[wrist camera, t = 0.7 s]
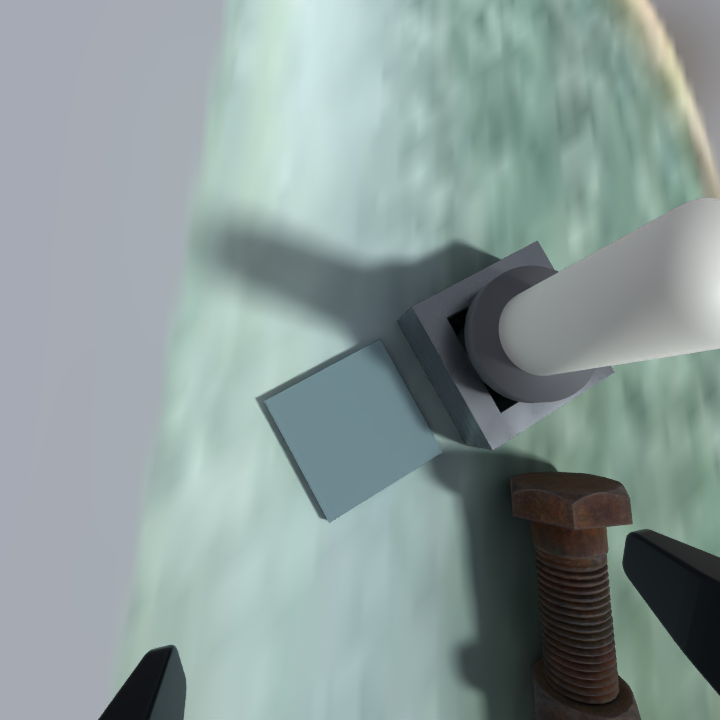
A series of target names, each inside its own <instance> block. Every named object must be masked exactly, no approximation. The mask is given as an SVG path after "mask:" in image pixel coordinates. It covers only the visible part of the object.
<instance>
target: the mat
mask: <svg viewBox="0 0 720 720" xmlns="http://www.w3.org/2000/svg"><path fill="white" fill-rule="evenodd" d="M264 402H265V404H266V406H267V408H268V409H269V411H270V413H271V415H272V417H273V419H274V421H275V423H276V424H277V426H278V428H279V430H280V432H281V434H282V436H283V437H284V439H285V441H286V443H287V445H288V447H289V449H290V451H291V452H292V454H293V456H294V458H295V460H296V462H297V464H298V465H299V467H300V469H301V471H302V473H303V475H304V477H305V478H306V480H307V482H308V484H309V486H310V488H311V490H312V492H313V493H314V495H315V497H316V499H317V501H318V503H319V505H320V506H321V508H322V510H323V512H324V514H325V516H326V518H327V520H328V521H329V523H330V522H332V521H333V520H335V519H336V518H338V517H340V516H341V515H343V514H344V513H346V512H348V511H349V510H351V509H352V508H354V507H356V506H357V505H359V504H360V503H362V502H364V501H365V500H367V499H368V498H370V497H372V496H373V495H375V494H376V493H378V492H380V491H381V490H383V489H384V488H386V487H388V486H389V485H391V484H392V483H394V482H396V481H397V480H399V479H400V478H402V477H404V476H405V475H407V474H408V473H410V472H412V471H413V470H415V469H417V468H418V467H420V466H421V465H423V464H425V463H426V462H428V461H429V460H431V459H433V458H434V457H436V456H437V455H439V454H441V453H442V452H443V451H442V449H441V448H440V446H439V444H438V442H437V440H436V439H435V437H434V435H433V433H432V431H431V430H430V428H429V426H428V424H427V422H426V421H425V419H424V417H423V415H422V413H421V412H420V410H419V408H418V406H417V404H416V403H415V401H414V399H413V397H412V395H411V394H410V392H409V390H408V388H407V386H406V385H405V383H404V381H403V379H402V377H401V376H400V374H399V372H398V370H397V368H396V367H395V365H394V363H393V361H392V359H391V358H390V356H389V354H388V352H387V350H386V349H385V347H384V345H383V343H382V341H381V340H380V339H379V340H378V341H376V342H374V343H372V344H370V345H368V346H366V347H364V348H363V349H361V350H359V351H357V352H355V353H353V354H351V355H349V356H348V357H346V358H344V359H342V360H340V361H338V362H336V363H334V364H333V365H331V366H329V367H327V368H325V369H323V370H321V371H319V372H318V373H316V374H314V375H312V376H310V377H308V378H306V379H304V380H303V381H301V382H299V383H297V384H295V385H293V386H291V387H289V388H288V389H286V390H284V391H282V392H280V393H278V394H276V395H274V396H273V397H271V398H269V399H267V400H265V401H264Z"/></svg>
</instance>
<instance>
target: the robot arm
mask: <svg viewBox="0 0 720 720" xmlns="http://www.w3.org/2000/svg"><path fill="white" fill-rule="evenodd" d="M622 564H623V569H624V572H625V574H626V575H627V577H628V578H629V580H630V581H631V582H632V584H633V585H634V587H635V588H636V589H637V591H638V592H639V593H640V595H641V596H642V597H643V599H644V600H645V602H646V603H647V604H648V606H649V607H650V608H651V610H652V611H653V612H654V614H655V615H656V616H657V618H658V619H659V621H660V622H661V623H662V625H663V626H664V627H665V629H666V630H667V631H668V633H669V634H670V636H671V637H672V638H673V640H674V641H675V642H676V643H677V645H678V646H679V647H680V649H681V650H682V651H683V653H684V654H685V655H686V656H687V658H688V659H689V660H690V661H691V662H692V664H693V665H694V666H695V667H696V668H697V670H698V671H699V672H700V673H701V674H702V675H703V677H704V678H705V679H706V680H707V681H708V682H709V684H710V685H711V686H712V687H713V688H714V690H715V691H716V692H717V693H718V694H719V695H720V557H717V556H715V555H712V554H710V553H707V552H705V551H702V550H700V549H697V548H695V547H692V546H690V545H687V544H685V543H682V542H680V541H677V540H675V539H672V538H670V537H667V536H664V535H662V534H659V533H657V532H654V531H652V530H648V529H643V530H639V531H635V532H631V533H629V534H628V535H627V537H626V542H625V548H624V555H623V562H622ZM185 699H186V678H185V674H184V671H183V667H182V664H181V660H180V657H179V654H178V650H177V648H176V647H175V646H174V645H167V646H163V647H159V648H155V649H152V650H150V651H149V652H148V653H147V654H146V655H145V656H144V657H143V658H142V660H141V661H140V663H139V664H138V665H137V667H136V668H135V669H134V671H133V672H132V674H131V675H130V676H129V678H128V679H127V681H126V682H125V683H124V685H123V686H122V687H121V689H120V690H119V692H118V693H117V694H116V696H115V697H114V698H113V700H112V701H111V703H110V704H109V705H108V707H107V708H106V710H105V711H104V712H103V714H102V715H101V717H100V718H99V719H98V720H183V719H184V709H185Z"/></svg>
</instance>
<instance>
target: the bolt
mask: <svg viewBox="0 0 720 720" xmlns="http://www.w3.org/2000/svg"><path fill="white" fill-rule="evenodd" d="M511 497H512V512H513V517H518V518H522V519H527V520H531V532H532V542H533V544H534V546H535V551H536V552H535V556H536V564H537V565H536V569H537V578H538V579H537V583H538V592H539V594H538V597H539V599H540V600H539V605H540V608H539V611H540V613H541V614H540V618H541V622H540V624H541V633H542V636H541V637H542V640H543V641H542V646H543V655H544V656H543V658H542V659H540V660H539V661H537V662H536V663H534V664H533V665H532V674H533V688H534V701H535V714H536V720H641V718H640V714H639V710H638V707H637V704H636V701H635V698H634V695H633V692H632V690H631V688H630V686H629V685H628V684H627V683H626V682H625V681H624V680H623V679H622V678H621V677H620V676H619V675H618V671H617V662H616V654H615V653H616V650H615V641H614V633H613V630H614V628H613V624H612V623H613V618H612V616H611V614H612V611H611V603H610V600H611V599H610V594H609V593H610V587H609V579H608V576H609V574H608V572H607V570H608V565H607V553H608V541H607V530H606V527H609V526H619V525H628V524H633V522H632V513H631V504H630V498H629V495H628V493H627V491H626V489H625V488H624V486H623V485H622V484H621V483H620V482H618V481H615V480H612V479H609V478H605V477H600V476H596V475H591V474H585V473H567V472H539V473H527V474H521V475H518V476H515V477H512V478H511Z"/></svg>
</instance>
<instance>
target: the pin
mask: <svg viewBox="0 0 720 720" xmlns="http://www.w3.org/2000/svg"><path fill="white" fill-rule="evenodd" d="M458 339H459V341H460V342H461V344H462V346H463V348H464V349H465V351H466V353H467V355H468V357H469V359H470V361H471V363H472V365H473V367H474V369H475V370H476V372H477V373H478V375H479V376H480V378H481V380H482V381H483V383H484V384H487V385H488V386H489V387H490V388H491V389H493V390H494V391H496V392H497V393H498V394H500V395H502V396H504V397H506V398H509V399H511V400H514V401H518V402H523V403H543V402H554V401H559V400H562V399H565V398H568V397H570V396H571V395H573V394H575V393H576V392H578V391H579V390H580V389H582V388H583V387H584V386H585V385H586V384H587V383H588V381H589V380H590V378H591V377H592V376H593V374H594V372H595V370H596V368H599V367H605V366H611V365H618V364H624V363H630V362H637V361H643V360H649V359H656V358H662V357H669V356H675V355H681V354H688V353H694V352H700V351H707V350H713V349H719V348H720V199H714V198H702V199H696V200H692V201H689V202H687V203H684V204H682V205H680V206H679V207H677V208H675V209H673V210H671V211H669V212H668V213H666V214H664V215H662V216H660V217H658V218H657V219H655V220H653V221H651V222H649V223H648V224H646V225H644V226H642V227H640V228H638V229H637V230H635V231H633V232H631V233H629V234H627V235H626V236H624V237H622V238H620V239H618V240H616V241H615V242H613V243H611V244H609V245H607V246H606V247H604V248H602V249H600V250H598V251H596V252H595V253H593V254H591V255H589V256H587V257H585V258H584V259H582V260H580V261H578V262H576V263H575V264H573V265H571V266H569V267H567V268H565V269H564V270H562V271H560V272H558V271H556V270H553V269H550V268H546V267H542V266H521V267H517V268H513V269H511V270H508V271H506V272H504V273H503V274H501V275H499V276H498V277H496V278H495V279H493V280H492V281H491V282H489V283H488V284H486V285H485V286H484V287H483V288H482V289H481V290H480V291H479V292H478V293H477V295H476V296H475V298H474V299H473V301H472V303H471V305H470V307H469V309H468V312H467V315H466V320H465V325H464V326H463V328H462V329H461V330H460V332H459V334H458Z"/></svg>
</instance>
